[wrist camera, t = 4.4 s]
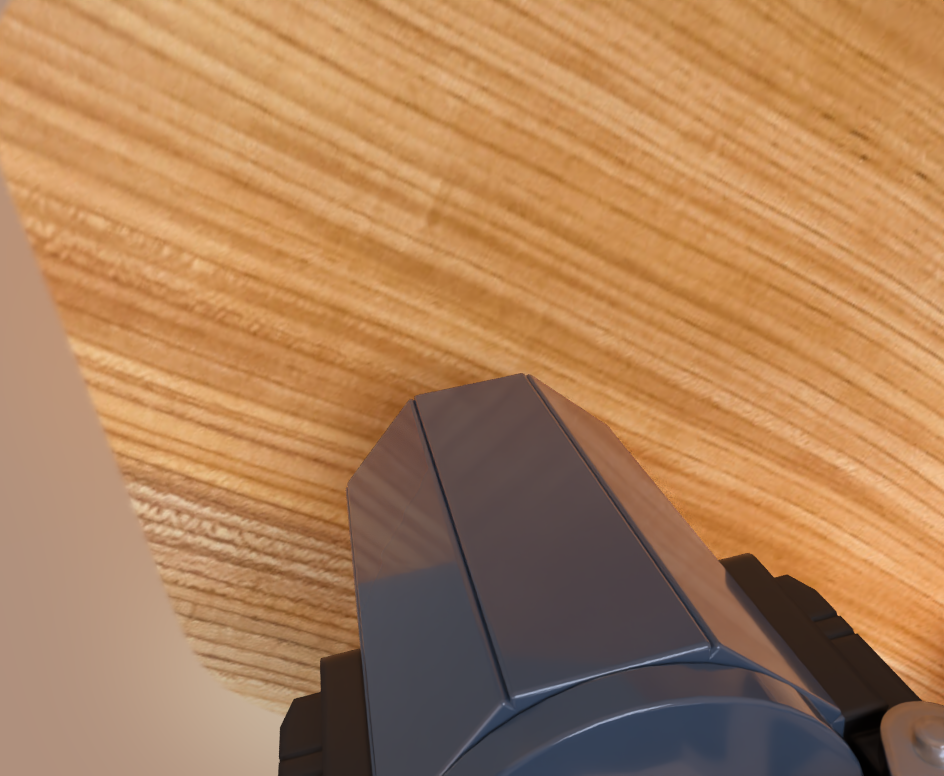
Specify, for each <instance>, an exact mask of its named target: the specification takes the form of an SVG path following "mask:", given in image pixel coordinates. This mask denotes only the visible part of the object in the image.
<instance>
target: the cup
mask: <svg viewBox="0 0 944 776" xmlns="http://www.w3.org/2000/svg"><path fill="white" fill-rule="evenodd" d="M347 486H348V487H347V488H346V499H347V509H348V520H349V531H350V542H351V553H352V564H353V574H354V585H355V596H356V607H357V618H358V629H359V640H360V650H361V661H362V672H363V683H364V694H365V705H366V716H367V726H368V737H369V748H370V759H371V770H372V776H864V773H863V771H862V768H861V765H860V763H859V760H858V759H857V757H856V756H855V754H854V753H853V751H852V750H851V748H850V747H849V745H848V743H847V742H846V741H845V740H844V728H845V718H844V716H843V714H842V713H841V710H840V708H839V707H838V706H837V705H836V703H835V702H834V701H833V700H832V699H831V697H830V696H829V695H828V694H827V692H826V691H825V690H824V689H823V688H822V686H821V685H820V684H819V683H818V681H817V680H816V679H815V678H814V677H813V675H812V674H811V673H810V672H809V670H808V669H807V668H806V667H805V666H804V664H803V663H802V662H801V661H800V660H799V658H798V657H797V656H796V655H795V653H794V652H793V651H792V650H791V649H790V647H789V646H788V645H787V644H786V642H785V641H784V640H783V639H782V638H781V636H780V635H779V634H778V633H777V631H776V630H775V629H774V628H773V627H772V625H771V624H770V623H769V622H768V621H767V619H766V618H765V617H764V616H763V614H762V613H761V612H760V611H759V610H758V608H757V607H756V606H755V605H754V603H753V602H752V601H751V600H750V599H749V597H748V596H747V595H746V594H745V593H744V591H743V590H742V589H741V588H740V586H739V585H738V584H737V583H736V582H735V580H734V579H733V578H732V577H731V575H730V574H729V573H728V572H727V571H726V569H725V568H724V567H723V566H722V564H721V563H720V562H719V561H718V560H717V558H716V557H715V556H714V555H713V554H712V552H711V551H710V550H709V549H708V547H707V546H706V545H705V544H704V543H703V541H702V540H701V539H700V538H699V536H698V535H697V534H696V533H695V532H694V530H693V529H692V528H691V527H690V525H689V524H688V523H687V522H686V521H685V519H684V518H683V517H682V516H681V515H680V513H679V512H678V511H677V510H676V508H675V507H674V506H673V505H672V504H671V502H670V501H669V500H668V499H667V497H666V496H665V495H664V494H663V493H662V491H661V490H660V489H659V488H658V487H657V485H656V484H655V483H654V482H653V480H652V479H651V478H650V477H649V476H648V474H647V473H646V472H645V471H644V469H643V468H642V467H641V466H640V465H639V463H638V462H637V461H636V460H635V458H634V457H633V456H632V455H631V454H630V452H629V451H628V450H627V449H626V448H625V446H624V445H623V444H622V443H621V441H620V440H619V439H618V438H617V437H616V435H615V434H614V433H613V432H612V430H611V429H610V428H609V427H608V426H607V425H606V424H605V423H603V422H602V421H600V420H599V419H597V418H596V417H594V416H592V415H591V414H589V413H588V412H586V411H585V410H583V409H582V408H580V407H579V406H577V405H576V404H574V403H573V402H571V401H570V400H568V399H567V398H565V397H564V396H562V395H561V394H559V393H558V392H556V391H555V390H553V389H552V388H550V387H549V386H547V385H546V384H544V383H543V382H541V381H539V380H538V379H536V378H535V377H533V376H532V375H529V374H528V375H526V376H525V374H523V373H520V374H516V375H511V376H506V377H501V378H496V379H492V380H487V381H482V382H477V383H473V384H468V385H463V386H458V387H453V388H449V389H444V390H439V391H434V392H430V393H425V394H420V395H416V396H415V398H414V400H412V399H410V400H409V401H408V402H407V403H406V404H405V406H404V407H403V409H402V410H401V411H400V413H399V414H398V415H397V417H396V418H395V419H394V421H393V422H392V423H391V425H390V426H389V427H388V429H387V430H386V432H385V433H384V434H383V436H382V437H381V438H380V440H379V441H378V442H377V444H376V445H375V446H374V448H373V449H372V451H371V452H370V453H369V455H368V456H367V457H366V459H365V460H364V461H363V463H362V464H361V465H360V467H359V468H358V469H357V471H356V472H355V474H354V475H353V476H352V478H351V479H350V480H349V482H348V484H347Z"/></svg>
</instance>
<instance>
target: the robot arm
mask: <svg viewBox="0 0 944 776" xmlns="http://www.w3.org/2000/svg"><path fill="white" fill-rule="evenodd" d="M718 561H719V562H720V563H721V564H722V566H723V567H724V568H725V569H726V571H727V572H728V573H729V574H730V575H731V577H732V578H733V579H734V580H735V582H736V583H737V584H738V585H739V586H740V588H741V589H742V590H743V591H744V593H745V594H746V595H747V596H748V597H749V599H750V600H751V601H752V602H753V603H754V605H755V606H756V607H757V608H758V610H759V611H760V612H761V613H762V614H763V616H764V617H765V618H766V619H767V621H768V622H769V623H770V624H771V625H772V627H773V628H774V629H775V630H776V631H777V633H778V634H779V635H780V636H781V638H782V639H783V640H784V641H785V642H786V644H787V645H788V646H789V647H790V649H791V650H792V651H793V652H794V653H795V655H796V656H797V657H798V658H799V660H800V661H801V662H802V663H803V664H804V666H805V667H806V668H807V669H808V670H809V672H810V673H811V674H812V675H813V677H814V678H815V679H816V680H817V681H818V683H819V684H820V685H821V686H822V688H823V689H824V690H825V691H826V692H827V694H828V695H829V696H830V697H831V699H832V700H833V701H834V702H835V703H836V705H837V706H838V707H839V708H840V710H841V713H842V714H843V716H844V718H845V728H844V740H845V741H846V742H847V743H848V745H849V747H850V748H851V750H852V751H853V753H854V754H855V756H856V757H857V759H858V760H859V763H860V765H861V768H862V771H863V773H864V776H944V706H943V705H940V704H936V703H931V702H924V701H922V700H921V699H920V698H919V697H918V696H917V695H916V694H915V693H914V692H913V691H912V690H911V689H910V688H909V687H908V686H907V685H906V684H905V683H904V682H903V681H902V679H901V678H900V677H899V676H898V675H897V674H896V673H895V672H894V671H893V670H892V669H891V668H890V667H889V666H888V665H887V664H886V663H885V662H884V661H883V660H882V659H881V658H880V657H879V655H878V654H877V653H876V652H875V651H874V650H873V649H872V648H871V647H870V646H869V645H868V644H867V643H866V642H865V641H864V640H863V639H862V638H861V637H860V636H859V635H858V634H855V633H854V631H853V628H852V627H851V626H850V625H849V624H848V623H847V622H846V621H845V620H844V619H843V618H842V617H841V616H838V615H837V613H836V611H835V610H834V609H833V608H832V606H831V605H830V604H829V603H828V602H827V601H826V600H825V599H824V598H823V597H822V596H821V595H820V594H819V593H818V592H817V591H816V590H815V589H813V588H811V587H809V586H807V585H805V584H804V583H802V582H800V581H798V580H796V579H794V578H793V577H791V576H789V575H783V576H779V577H775V578H774V577H773V576H772V575H771V574H770V573H769V572H768V570H767V569H766V568H765V567H764V566H763V565H762V564H761V563H760V562H759V560H758V559H757V558H756V557H755V556H753V555H752V554H750V553H745V554H741V555H737V556H733V557H729V558H725V559H721V560H718ZM320 676H321V692H319V693H315V694H311V695H307V696H304V697H300V698H296V699H294V700H293V702H292V704H291V706H290V708H289V710H288V712H287V714H286V716H285V718H284V721H283V723H282V725H281V727H280V744H279V759H280V763H279V770H278V776H372V770H371V759H370V748H369V737H368V726H367V716H366V705H365V694H364V683H363V672H362V661H361V650H360V649H356V650H352V651H348V652H344V653H340V654H336V655H332V656H328V657H324V658H321V661H320Z"/></svg>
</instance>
